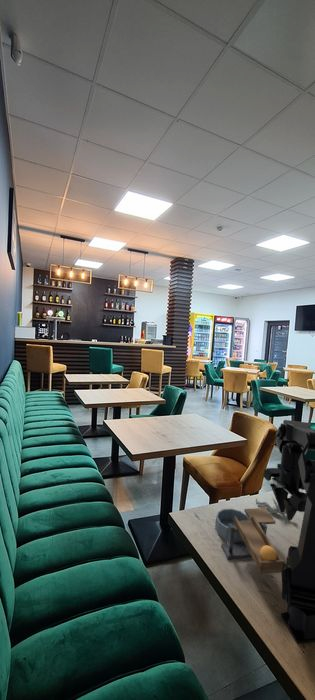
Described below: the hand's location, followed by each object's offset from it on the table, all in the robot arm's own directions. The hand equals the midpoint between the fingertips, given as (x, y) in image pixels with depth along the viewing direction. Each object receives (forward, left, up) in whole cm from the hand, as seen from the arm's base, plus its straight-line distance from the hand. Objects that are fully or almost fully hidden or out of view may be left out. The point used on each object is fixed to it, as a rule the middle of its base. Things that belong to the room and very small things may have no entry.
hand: (285, 515), depth 89 cm
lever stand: (+2, +10, -12) cm, 16 cm away
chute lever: (-1, +7, -6) cm, 10 cm away
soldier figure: (+20, -8, -12) cm, 25 cm away
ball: (-9, +10, -4) cm, 15 cm away
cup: (+11, +10, -12) cm, 19 cm away
